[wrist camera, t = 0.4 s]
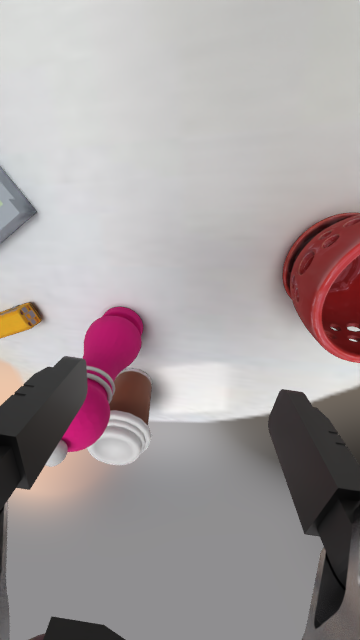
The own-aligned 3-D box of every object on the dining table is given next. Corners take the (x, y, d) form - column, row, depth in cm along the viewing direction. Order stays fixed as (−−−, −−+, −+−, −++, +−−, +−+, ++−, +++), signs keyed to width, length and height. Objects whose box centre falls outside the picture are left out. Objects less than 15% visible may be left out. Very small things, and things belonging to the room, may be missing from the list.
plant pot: (337, 178, 23) (457, 160, 13) (402, 255, 27) (538, 291, 16) (248, 272, 29) (281, 314, 18) (311, 327, 32) (371, 388, 22)
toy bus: (-18, 317, 34) (-41, 330, 30) (34, 299, 32) (15, 310, 29) (-4, 334, 35) (-24, 348, 32) (47, 317, 33) (31, 330, 30)
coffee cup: (159, 364, 37) (147, 430, 26) (159, 402, 41) (149, 472, 30) (105, 360, 37) (71, 424, 26) (110, 399, 41) (83, 467, 30)
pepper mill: (144, 303, 31) (86, 433, 14) (148, 344, 35) (106, 492, 17) (94, 303, 32) (-25, 431, 14) (103, 344, 35) (17, 489, 18)
